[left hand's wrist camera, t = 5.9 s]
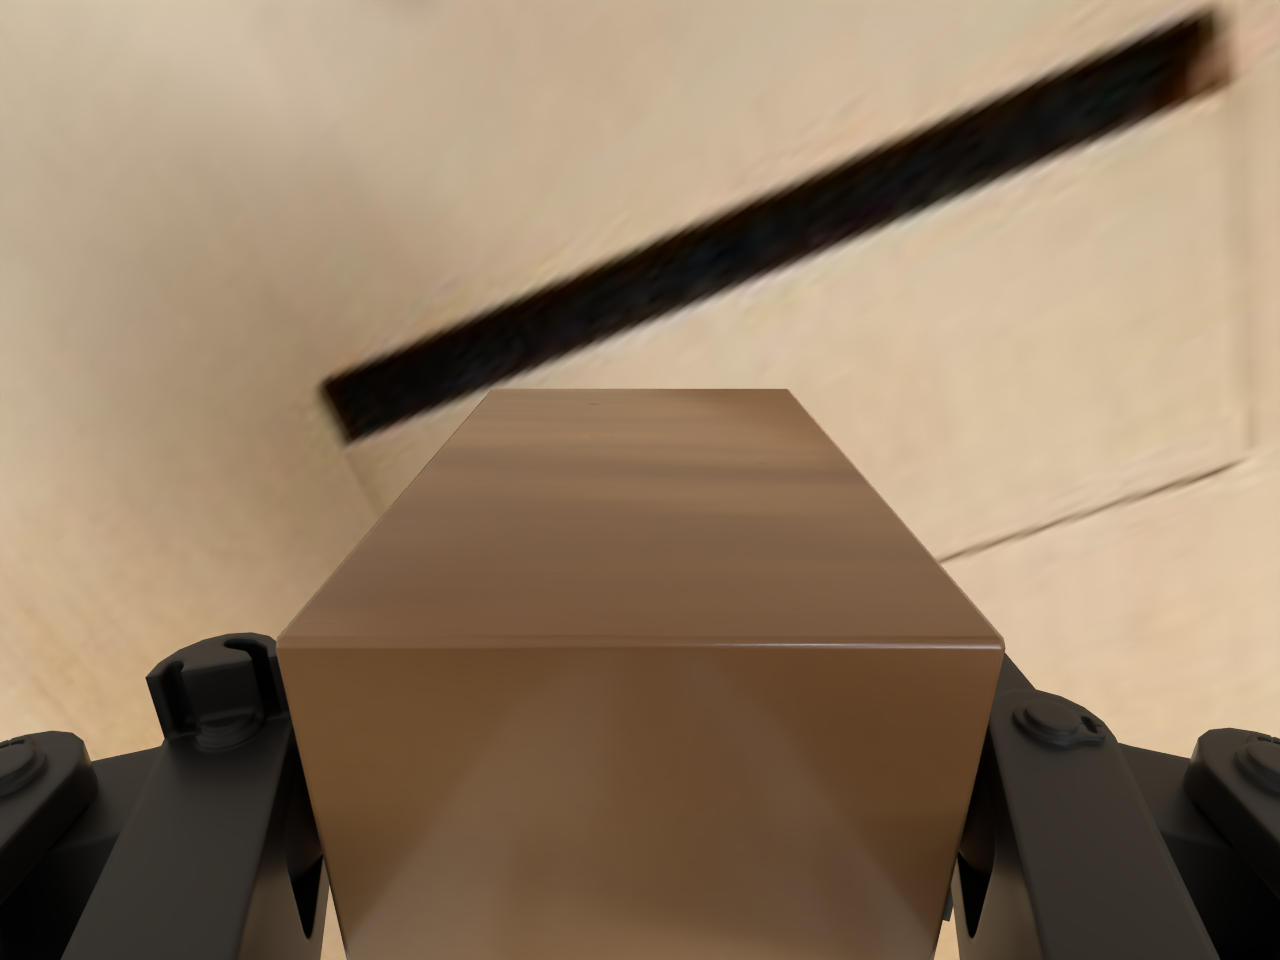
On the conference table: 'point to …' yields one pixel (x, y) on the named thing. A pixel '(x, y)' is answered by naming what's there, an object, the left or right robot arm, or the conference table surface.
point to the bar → (640, 694)
